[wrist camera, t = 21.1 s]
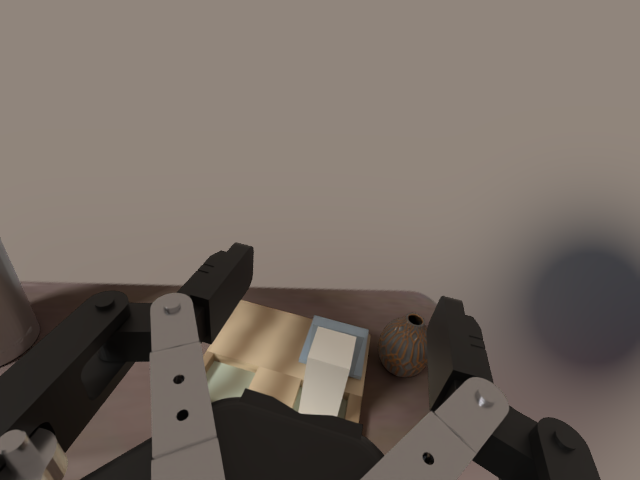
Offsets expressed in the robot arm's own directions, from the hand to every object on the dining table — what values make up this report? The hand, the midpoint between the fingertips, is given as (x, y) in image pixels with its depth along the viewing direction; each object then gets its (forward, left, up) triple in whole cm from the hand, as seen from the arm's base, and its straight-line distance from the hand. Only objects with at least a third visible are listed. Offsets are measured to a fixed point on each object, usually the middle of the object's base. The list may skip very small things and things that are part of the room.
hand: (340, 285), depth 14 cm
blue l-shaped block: (0, +20, -27) cm, 33 cm away
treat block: (0, +11, -28) cm, 30 cm away
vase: (+9, +22, -29) cm, 38 cm away
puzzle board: (-5, +15, -29) cm, 33 cm away
